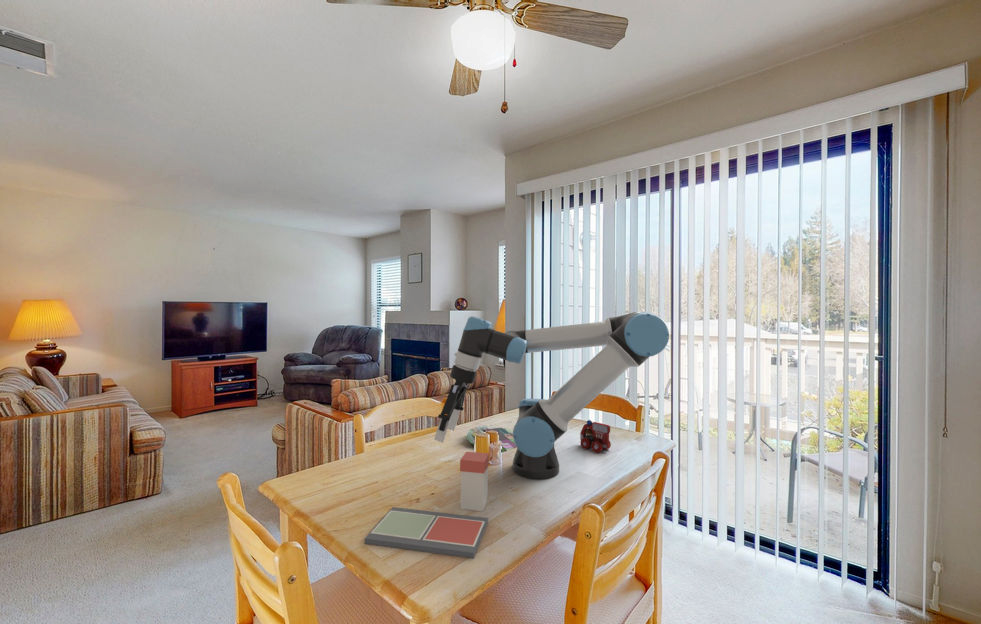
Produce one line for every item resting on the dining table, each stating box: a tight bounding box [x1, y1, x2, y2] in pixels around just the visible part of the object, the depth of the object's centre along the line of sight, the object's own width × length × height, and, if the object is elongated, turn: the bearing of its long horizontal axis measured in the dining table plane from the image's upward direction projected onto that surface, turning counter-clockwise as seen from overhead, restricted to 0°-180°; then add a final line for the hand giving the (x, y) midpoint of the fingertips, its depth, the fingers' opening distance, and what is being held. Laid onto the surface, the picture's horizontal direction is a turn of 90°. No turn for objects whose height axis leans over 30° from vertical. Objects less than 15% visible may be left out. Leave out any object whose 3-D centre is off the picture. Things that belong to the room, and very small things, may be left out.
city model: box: [464, 425, 517, 453], centre depth 166 cm, size 25×23×6 cm
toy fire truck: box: [579, 419, 612, 454], centre depth 160 cm, size 7×12×10 cm, turn 41°
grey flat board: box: [364, 506, 489, 559], centre depth 100 cm, size 25×15×1 cm, turn 79°
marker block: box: [459, 451, 490, 512], centre depth 114 cm, size 6×6×13 cm
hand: (444, 434), depth 128 cm, fingers open, 13 cm apart
